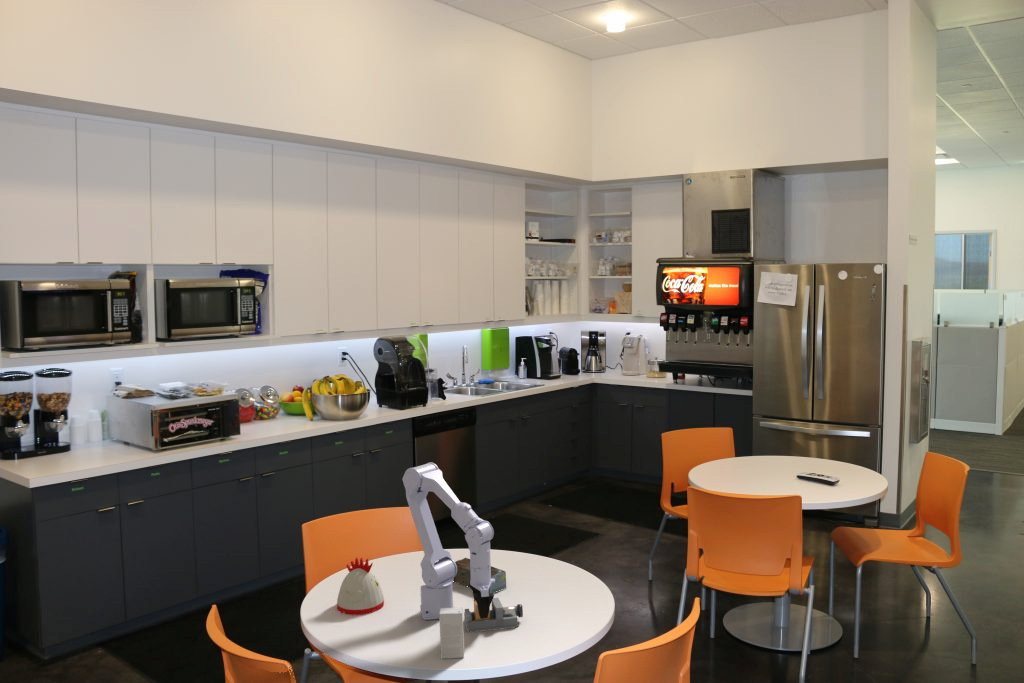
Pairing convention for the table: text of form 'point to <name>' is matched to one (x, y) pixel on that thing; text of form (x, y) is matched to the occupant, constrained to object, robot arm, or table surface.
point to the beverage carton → (465, 575)
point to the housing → (494, 621)
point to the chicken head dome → (360, 590)
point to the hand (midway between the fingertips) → (481, 612)
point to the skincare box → (451, 632)
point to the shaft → (513, 611)
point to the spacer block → (476, 613)
